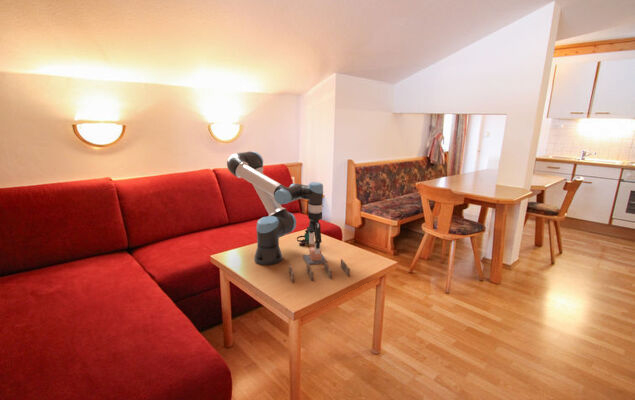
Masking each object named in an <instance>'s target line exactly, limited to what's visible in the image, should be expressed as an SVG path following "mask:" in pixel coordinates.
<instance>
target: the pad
mask: <svg viewBox="0 0 635 400" xmlns="http://www.w3.org/2000/svg"><path fill="white" fill-rule="evenodd" d="M302 257H303V260H304V261H305V263H306V265H307V263H309V265H310V266H312V265H313V266H314V265H320V264H321V265H322V264H323V265H324V261H326V263H327V264H328V261H327V259H326V258H325V256H324V254H323V253H322V252H321V260H314V261H311V259H310V257H309V254H303V256H302Z"/></svg>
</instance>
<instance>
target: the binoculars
mask: <svg viewBox="0 0 635 400" xmlns="http://www.w3.org/2000/svg"><path fill="white" fill-rule="evenodd" d="M308 229H309V226H307V227H306V229H305V230H304V232H305V233H304V235H300V236H297V237H296V241H297V243H298V242H299V244H298V245H299V246H306V247H311V244H309V230H308ZM300 238H303V239H302V240H300Z"/></svg>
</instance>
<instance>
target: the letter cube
mask: <svg viewBox="0 0 635 400" xmlns="http://www.w3.org/2000/svg"><path fill="white" fill-rule="evenodd" d="M308 249H309V251H308V253H309V254H308V255H309V257H310V259H311V261H314V260H321V253H322V249H321V248H320V254H315V246H314V247H313V246H308Z"/></svg>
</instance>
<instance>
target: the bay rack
mask: <svg viewBox="0 0 635 400" xmlns="http://www.w3.org/2000/svg"><path fill="white" fill-rule="evenodd" d="M326 261H327V260H326ZM326 261H324V263H323V269H324V271H325V273H326V274H327V276H328V277H329V279H330V280H331V279H333V271H332V269H331V267H330V266H329V264H328V262H327V263H326ZM340 267H341V269H342V270H343V272H344V273H345V275H346V276H347V278H349V277H350V276H351V269H350V267H349V266H348V264H347V263H346V262H345V260H343V259H340ZM306 271H307V274H308V276H309V278H310V281H314V272H313V269H312V268H311V265H309V263H307V264H306ZM288 273H289V277H290V280H291V282H292V284H294V283H295V273H294V270H293V268H292V266H291V264H288Z"/></svg>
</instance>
